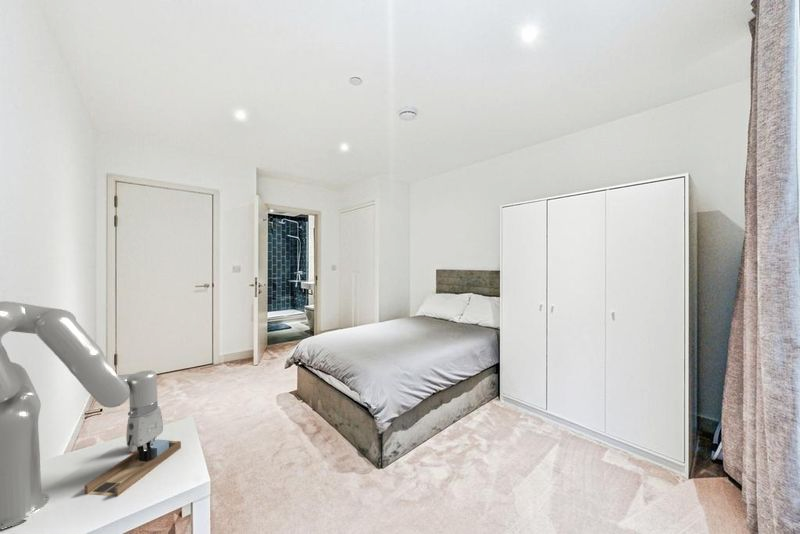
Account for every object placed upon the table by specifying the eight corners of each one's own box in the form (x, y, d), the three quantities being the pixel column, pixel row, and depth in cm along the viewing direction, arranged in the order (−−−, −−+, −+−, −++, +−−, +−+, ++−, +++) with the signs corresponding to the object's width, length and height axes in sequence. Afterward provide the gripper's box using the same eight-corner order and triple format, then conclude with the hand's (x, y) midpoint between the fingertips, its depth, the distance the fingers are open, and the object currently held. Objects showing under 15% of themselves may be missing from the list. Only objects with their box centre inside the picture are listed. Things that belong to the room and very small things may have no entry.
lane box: (84, 496, 95) (84, 485, 95) (154, 448, 119) (153, 439, 119) (117, 499, 94) (117, 488, 94) (181, 450, 118) (180, 441, 118)
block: (144, 458, 112) (144, 447, 112) (156, 449, 117) (156, 439, 117) (157, 459, 111) (156, 448, 111) (169, 450, 116) (168, 440, 116)
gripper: (133, 419, 101) (135, 475, 102) (171, 398, 116) (172, 447, 116) (112, 418, 102) (114, 473, 102) (153, 397, 117) (154, 446, 117)
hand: (145, 459), depth 109 cm, fingers closed
